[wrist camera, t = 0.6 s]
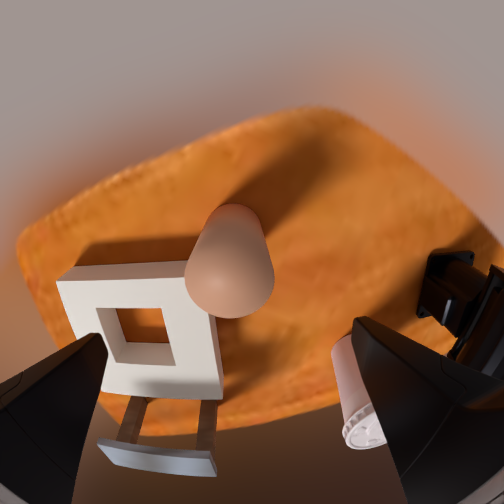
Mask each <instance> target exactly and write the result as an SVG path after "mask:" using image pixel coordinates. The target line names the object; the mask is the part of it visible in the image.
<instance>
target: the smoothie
mask: <svg viewBox="0 0 504 504" xmlns="http://www.w3.org/2000/svg"><path fill="white" fill-rule="evenodd" d="M331 356H332V361H333V366H334V370H335V375H336V380H337V385H338V390H339V395H340V400H341V406H342V412H343V417H344V422H345V425H344V427H343V431H342V433H343V437H344V438H345V441H346V444H347V445H348V446H349V447H351V448H354V449H368V448H372V447H377V446H380V445H382V444H385V443H387V441H386V439H385V436H384V433H383V431H382V428H381V425H380V423H379V420H378V418H377V415H376V413H375V410H374V408H373V405H372V403H371V400H370V398H369V395H368V393H367V390H366V388H365V386H364V383H363V380H362V378H361V374H360V371H359V367H358V364H357V360H356V357H355V353H354V350H353V347H352V343H351V334H350V335H347V336H345V337H343V338H341V339H340V340H339V341H337V342H336V344H335V345H334V346H333V348H332V351H331Z"/></svg>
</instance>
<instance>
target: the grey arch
mask: <svg viewBox="0 0 504 504" xmlns="http://www.w3.org/2000/svg"><path fill="white" fill-rule="evenodd" d="M147 405H148V404H147V402H146V400H145V398H144V397H143V396H133V395H131V398H130V401H129V404H128V406H127V409H126V412H125V415H124V418H123V421H122V424H121V427H120V430H119V433H118V436H117V439H116V441H114V440H109V439H104V438H99V439H98V442H97V445H98V446H99V447H100V448H101V450H102V451H103V452H104V453H105V454H106V455H107V457H108V458H109V459H110V460H111V461H112V462H113V463H114V464H116V465H121V466H125V467H130V468H135V469H141V470H148V471H154V472H161V473H169V474H179V475H191V476H210V477H217V468H216V466H215V443H216V442H215V441H216V425H217V408H218V407H217V403H216V400H201V407H200V415H199V424H198V433H197V442H196V451H194V450H178V449H168V448H158V447H150V446H143V445H136V443H137V440H138V436H139V433H140V429H141V426H142V422H143V419H144V415H145V412H146V408H147Z"/></svg>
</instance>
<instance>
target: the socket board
mask: <svg viewBox="0 0 504 504" xmlns="http://www.w3.org/2000/svg"><path fill="white" fill-rule="evenodd" d="M187 262H188V260H185V261H167V262H149V263H130V264H111V265H92V266H74V267H72V268H71V269H70V270H69V271H67V272H66V273H65V274H64V275H63V276H61V277H60V278H59V279H58V280H57V281H56V284H57V287H58V290H59V293H60V296H61V299H62V302H63V305H64V308H65V310H66V313H67V316H68V318H69V321H70V324H71V326H72V329H73V331H74V334H75V336H76V338H77V340H78V339H80V338H81V337H83V336H85V335H87V334H89V333H91V332H93V333H100V334H101V335H102V337H103V340H104V342H105V344H106V347H107V349H108V354H109V355H108V360H107V364H106V368H105V373H104V377H103V381H102V386H101V390H102V392H109V393H116V394H124V395H133V396H143V397H155V398H170V399H201V400H218V399H223V385H224V374H223V367H222V361H221V355H220V348H219V341H218V334H217V327H216V320H215V316H214V315H211V314H209V313H207V312H205V311H204V310H202V309H201V308H200V307H198V306H197V305H196V304H195V303H194V302H193V300H192V299H191V297H190V296H189V294H188V292H187V289H186V286H185V279H184V275H185V268H186V265H187ZM115 308H161V309H162V313H163V317H164V321H165V326H166V330H167V334H168V337H169V341H170V343H136V342H126V340H125V337H124V334H123V331H122V328H121V325H120V322H119V318H118V315H117V312H116V309H115Z"/></svg>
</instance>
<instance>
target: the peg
mask: <svg viewBox="0 0 504 504" xmlns="http://www.w3.org/2000/svg"><path fill="white" fill-rule="evenodd" d="M184 279H185V286H186V289H187V292H188V294H189V296H190V297H191V299H192V300H193V302H194V303H195V304H196V305H197V306H198V307H200V308H201V309H202V310H204V311H205V312H207V313H209V314H211V315H214V316H217V317H221V318H239V317H244V316H246V315H249V314H251V313H253V312H255V311H257V310H258V309H259V308H260V307H262V306H263V305H264V304H265V303H266V301H267V300H268V298H269V297H270V295H271V293H272V290H273V286H274V270H273V266H272V263H271V259H270V255H269V252H268V248H267V245H266V241H265V238H264V234H263V231H262V227H261V224H260V221H259V219H258V217H257V215H256V214H255V213H254V212H253V211H252V210H251V209H250V208H248V207H246V206H244V205H241V204H236V203H231V204H225V205H222V206H220V207H218V208H217V209H215V210H214V211H213V212H212V213H211V215H210V216H209V218H208V220H207V222H206V224H205V226H204V228H203V230H202V232H201V234H200V236H199V238H198V240H197V242H196V245H195V247H194V249H193V251H192V253H191V255H190V257H189V260H188V262H187V265H186V268H185V275H184Z"/></svg>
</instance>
